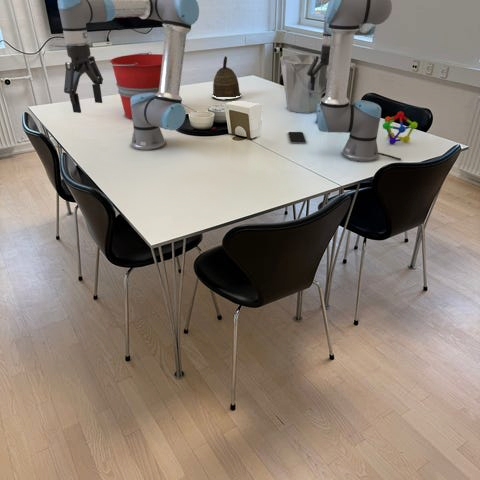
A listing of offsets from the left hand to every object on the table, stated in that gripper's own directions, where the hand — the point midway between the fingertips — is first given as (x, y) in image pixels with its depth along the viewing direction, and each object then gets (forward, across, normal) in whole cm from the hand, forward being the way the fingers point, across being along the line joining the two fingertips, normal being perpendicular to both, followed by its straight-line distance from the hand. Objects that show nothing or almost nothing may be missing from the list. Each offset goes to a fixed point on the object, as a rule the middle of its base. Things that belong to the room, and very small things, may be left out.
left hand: (88, 107), depth 161 cm
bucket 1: (+28, +84, +23) cm, 92 cm away
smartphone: (+28, +70, -65) cm, 99 cm away
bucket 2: (+28, +122, -59) cm, 139 cm away
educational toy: (+28, +78, -112) cm, 139 cm away
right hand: (+10, +99, -73) cm, 124 cm away
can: (+28, +99, -73) cm, 126 cm away
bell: (+28, +133, -8) cm, 136 cm away
